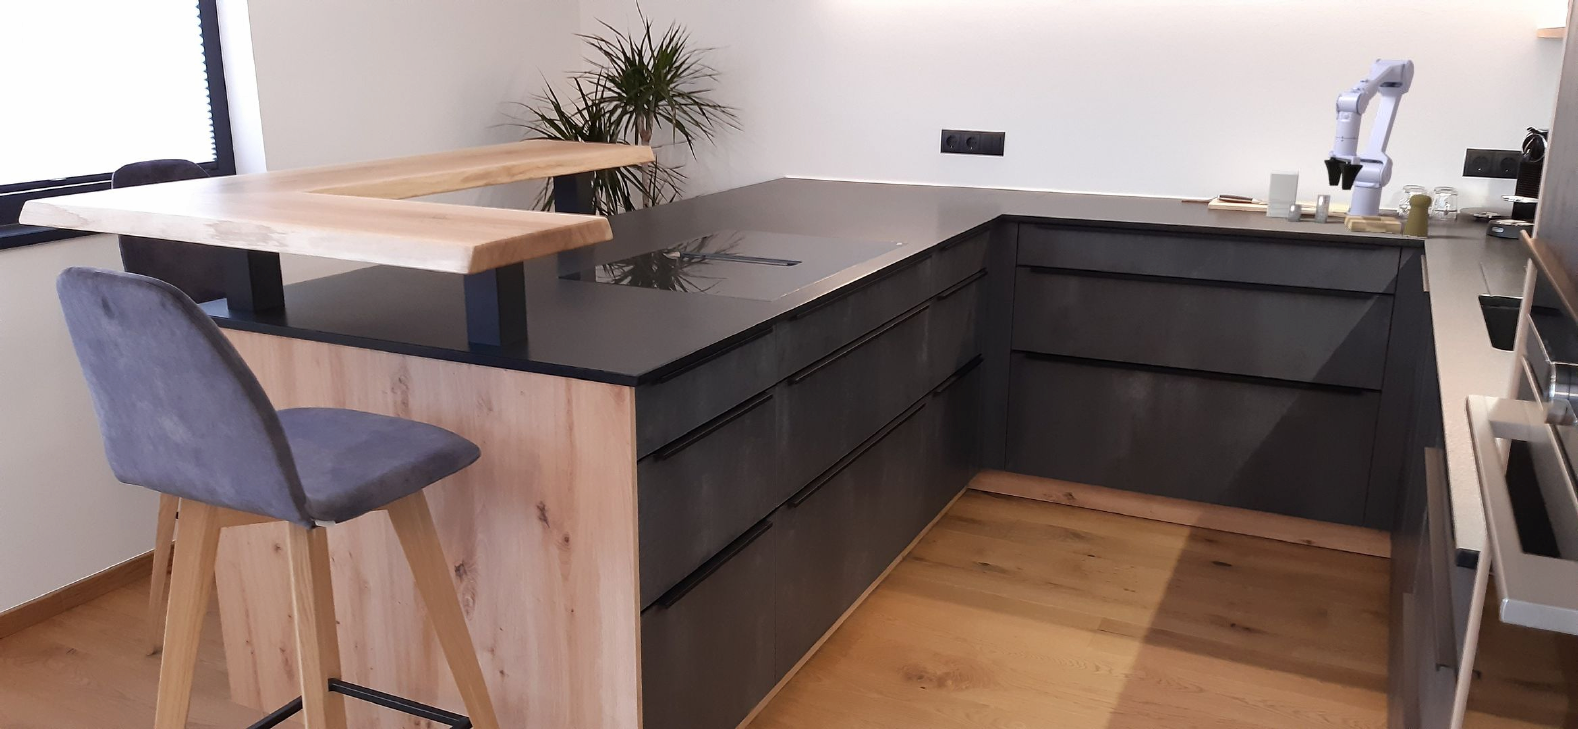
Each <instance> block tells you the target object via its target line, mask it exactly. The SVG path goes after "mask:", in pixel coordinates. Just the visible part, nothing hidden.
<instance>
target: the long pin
mask: <svg viewBox="0 0 1578 729" xmlns="http://www.w3.org/2000/svg"><path fill="white" fill-rule="evenodd" d="M1316 200H1317V201H1316V208H1315V216H1314V220H1313V221H1314V223H1315V224H1327V223H1328V216H1329V209H1330V202H1331V195H1329V194H1318V195H1317V199H1316Z"/></svg>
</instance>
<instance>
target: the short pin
mask: <svg viewBox="0 0 1578 729" xmlns="http://www.w3.org/2000/svg"><path fill="white" fill-rule="evenodd" d="M1302 207H1303V205H1302V204H1297V203H1295V204H1290V206H1289V213H1288V218H1287V222H1291V223H1299V222H1301V214H1302Z"/></svg>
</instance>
